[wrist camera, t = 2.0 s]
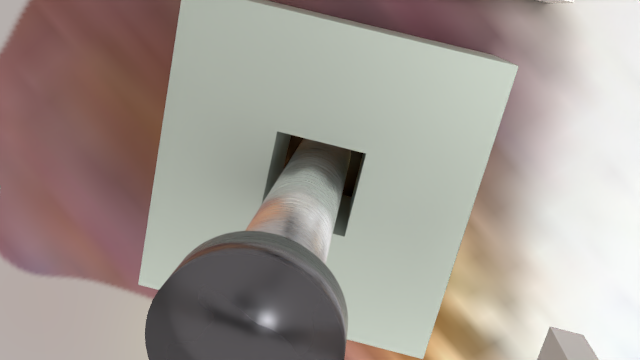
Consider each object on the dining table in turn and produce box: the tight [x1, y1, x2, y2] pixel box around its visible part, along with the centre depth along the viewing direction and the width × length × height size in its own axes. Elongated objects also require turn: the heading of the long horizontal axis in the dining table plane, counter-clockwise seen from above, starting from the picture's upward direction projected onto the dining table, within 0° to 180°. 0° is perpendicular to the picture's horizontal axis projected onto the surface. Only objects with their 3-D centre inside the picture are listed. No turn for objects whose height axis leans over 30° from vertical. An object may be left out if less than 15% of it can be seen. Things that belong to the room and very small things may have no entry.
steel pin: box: [145, 138, 351, 360], centre depth 19 cm, size 4×4×16 cm
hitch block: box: [138, 0, 519, 359], centre depth 25 cm, size 12×12×5 cm
